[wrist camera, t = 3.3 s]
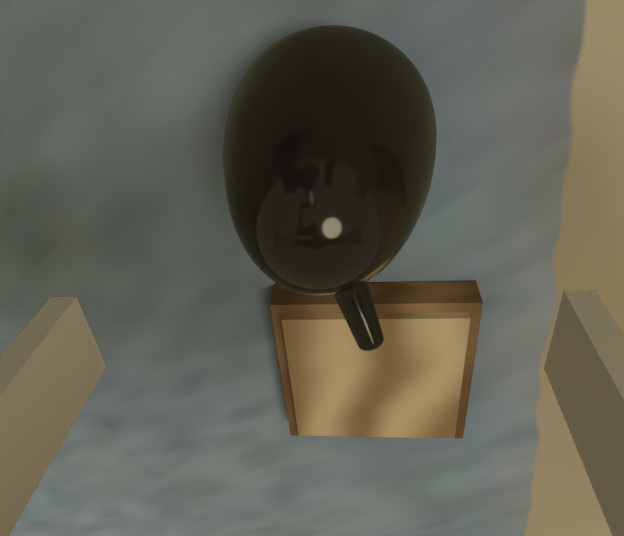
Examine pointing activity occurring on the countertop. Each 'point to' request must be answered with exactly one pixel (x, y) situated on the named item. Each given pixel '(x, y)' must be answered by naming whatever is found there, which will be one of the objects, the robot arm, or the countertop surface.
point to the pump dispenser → (330, 164)
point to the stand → (379, 361)
